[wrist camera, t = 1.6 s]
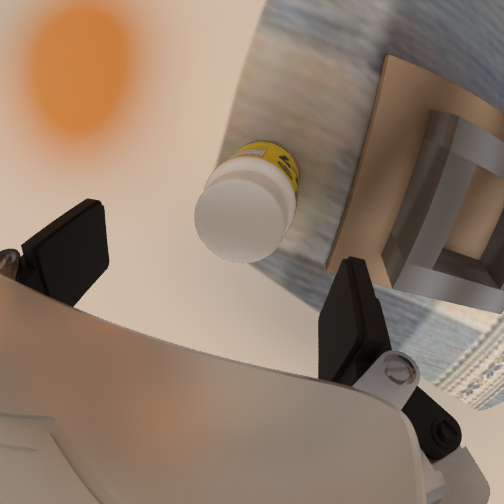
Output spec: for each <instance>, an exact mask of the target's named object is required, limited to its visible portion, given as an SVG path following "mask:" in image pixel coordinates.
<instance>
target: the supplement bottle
mask: <svg viewBox="0 0 504 504" xmlns="http://www.w3.org/2000/svg"><path fill="white" fill-rule="evenodd" d="M298 186H299V168H298V165H297V162H296V160H295V158H294V156H293V155H292V154H291V152H290V151H289V150H288V149H287V148H285V147H284V146H282V145H281V144H279V143H276V142H273V141H269V140H257V141H253V142H250V143H248V144H246V145H244V146H243V147H242V148H240V149H239V150H238V151H236V152H235V153H234V154H233V155H232V156H230V157H229V158H228V159H227V160H226V161H224V162H223V163H222V164H221V165H220V166H218V167H217V168H216V169H215V170H214V171H213V173H212V174H211V175H210V177H209V178H208V180H207V183H206V185H205V188H204V192H203V193H202V195H201V196H200V198H199V200H198V202H197V205H196V208H195V226H196V229H197V232H198V234H199V237H200V238H201V240H202V242H203V243H204V244H205V245H206V246H207V247H208V248H209V249H210V250H211V251H212V252H213V253H215V254H217V255H218V256H220V257H221V258H223V259H226V260H229V261H232V262H237V263H251V262H256V261H259V260H262V259H264V258H265V257H267V256H269V255H270V254H271V253H272V252H274V250H275V249H276V248H277V247H278V245H279V244H280V242H281V240H282V238H283V235H284V233H285V232H286V231H287V230H288V228H289V227H290V225H291V223H292V221H293V218H294V215H295V212H296V206H297V195H298Z"/></svg>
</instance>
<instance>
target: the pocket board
mask: <svg viewBox="0 0 504 504" xmlns="http://www.w3.org/2000/svg"><path fill="white" fill-rule="evenodd" d="M349 256H352V257H357V258H361V259H364V260H365V262H366V265H367V269H368V272H369V275H370V279H371V282H372V283H375V284H379V285H383V286H388V287H392V289H395V290H399V291H403V292H408V293H412V294H416V295H421V296H425V297H429V298H433V299H438V300H442V301H446V302H451V303H455V304H459V305H463V306H468V307H472V308H476V309H481V310H485V311H489V312H494V313H498V314H501V313H502V312H503V310H504V113H502V112H501V111H499V110H498V109H496V108H495V107H493V106H492V105H490V104H489V103H487V102H485V101H484V100H482V99H481V98H479V97H477V96H476V95H474V94H472V93H470V92H469V91H467V90H465V89H463V88H462V87H460V86H458V85H456V84H454V83H452V82H450V81H448V80H446V79H444V78H442V77H440V76H438V75H436V74H434V73H432V72H430V71H428V70H426V69H423V68H421V67H419V66H417V65H414V64H412V63H410V62H407V61H405V60H402V59H400V58H397V57H394V56H392V55H387V56H385V58H384V63H383V68H382V73H381V78H380V82H379V87H378V91H377V96H376V100H375V104H374V108H373V113H372V117H371V121H370V125H369V128H368V132H367V136H366V140H365V144H364V147H363V151H362V154H361V158H360V162H359V165H358V168H357V172H356V175H355V179H354V182H353V185H352V189H351V192H350V195H349V198H348V201H347V205H346V208H345V211H344V214H343V217H342V220H341V223H340V226H339V229H338V232H337V235H336V238H335V241H334V244H333V247H332V249H331V252H330V255H329V258H328V261H327V263H326V272H329V273H333V274H337V271H338V269H339V266H340V264H341V261H342V259H347V258H348V257H349Z"/></svg>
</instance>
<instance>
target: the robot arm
mask: <svg viewBox="0 0 504 504" xmlns="http://www.w3.org/2000/svg"><path fill="white" fill-rule="evenodd" d="M21 247H22V251H23V255H22V256H21V257H20V253H19V252H18V250H16V249H5V250H2V251H0V504H487V502H488V500H489V496H490V487H489V484H488V482H487V481H486V479H485V477H484V475H483V474H482V472H481V470H480V469H479V467H478V465H477V464H476V462H475V460H474V459H473V457H472V456H471V454H470V453H469V451H468V449H467V448H466V446H465V447H464V448H461V446H460V443H461V437H462V433H461V429H460V426H459V424H458V422H457V421H456V420H455V419H454V418H453V417H452V416H451V415H450V414H449V413H447V412H446V411H445V410H444V409H443V408H442V407H441V406H440V405H438V404H437V403H436V402H435V401H434V400H433V399H432V398H431V397H429V396H428V395H427V394H426V393H425V392H424V391H423V390H421V389H420V388H419V387H418V386H417V385H418V383H419V380H420V371H419V368H418V366H417V364H416V363H415V361H414V360H413V359H412V358H411V357H409V356H408V355H406V354H405V353H403V352H399V351H393V350H392V348H391V344H390V340H389V335H388V331H387V327H386V323H385V319H384V316H383V312H382V308H381V304H380V301H379V299H377V298H376V297H375V293H374V289H373V286H372V282H371V279H370V275H369V272H368V269H367V265H366V262H365V260H364V259H361V258H357V257H352V256H349V257H348V258H347V259H342V261H341V264H340V266H339V269H338V271H337V274H336V276H335V279H334V281H333V284H332V286H331V289H330V291H329V294H328V296H327V299H326V301H325V303H324V306H323V308H322V310H321V313H320V316H319V321H318V338H319V364H318V366H319V367H318V368H319V369H318V370H319V371H318V372H319V373H318V379H317V378H312V377H307V376H303V375H297V374H293V373H288V372H283V371H278V370H274V369H269V368H264V367H260V366H256V365H252V364H247V363H243V362H239V361H235V360H231V359H227V358H223V357H219V356H215V355H212V354H208V353H204V352H201V351H197V350H194V349H190V348H187V347H184V346H180V345H177V344H173V343H170V342H167V341H164V340H160V339H158V338H155V337H152V336H148V335H146V334H142V333H140V332H137V331H134V330H131V329H128V328H125V327H123V326H120V325H117V324H114V323H112V322H109V321H106V320H104V319H101V318H99V317H96V316H94V315H91V314H89V313H86V312H83V311H81V310H79V309H76V308H74V305H75V304H76V303H77V302H78V301H79V300H80V298H81V297H82V296H83V295H84V294H85V292H86V291H87V290H88V289H89V288H90V287H91V286H92V284H93V283H95V281H96V280H97V279H98V278H99V277H100V276H101V275H102V274H103V273H104V271H105V270H106V269H107V268H108V266H109V255H108V246H107V235H106V225H105V211H104V206H103V205H102V203H101V202H100V201H98V200H94V199H86V200H84V201H83V202H81V203H79V204H78V205H76V206H75V207H73V208H72V209H70V210H69V211H67V212H66V213H64V214H63V215H62V216H60V217H59V218H57V219H56V220H54V221H53V222H52V223H50V224H49V225H47V226H46V227H45V228H43V229H42V230H41V231H39V232H38V233H36V234H35V235H34V236H33V237H31V238H30V239H29V240H27V241H26V242H25V243H23V244H22V245H21Z"/></svg>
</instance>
